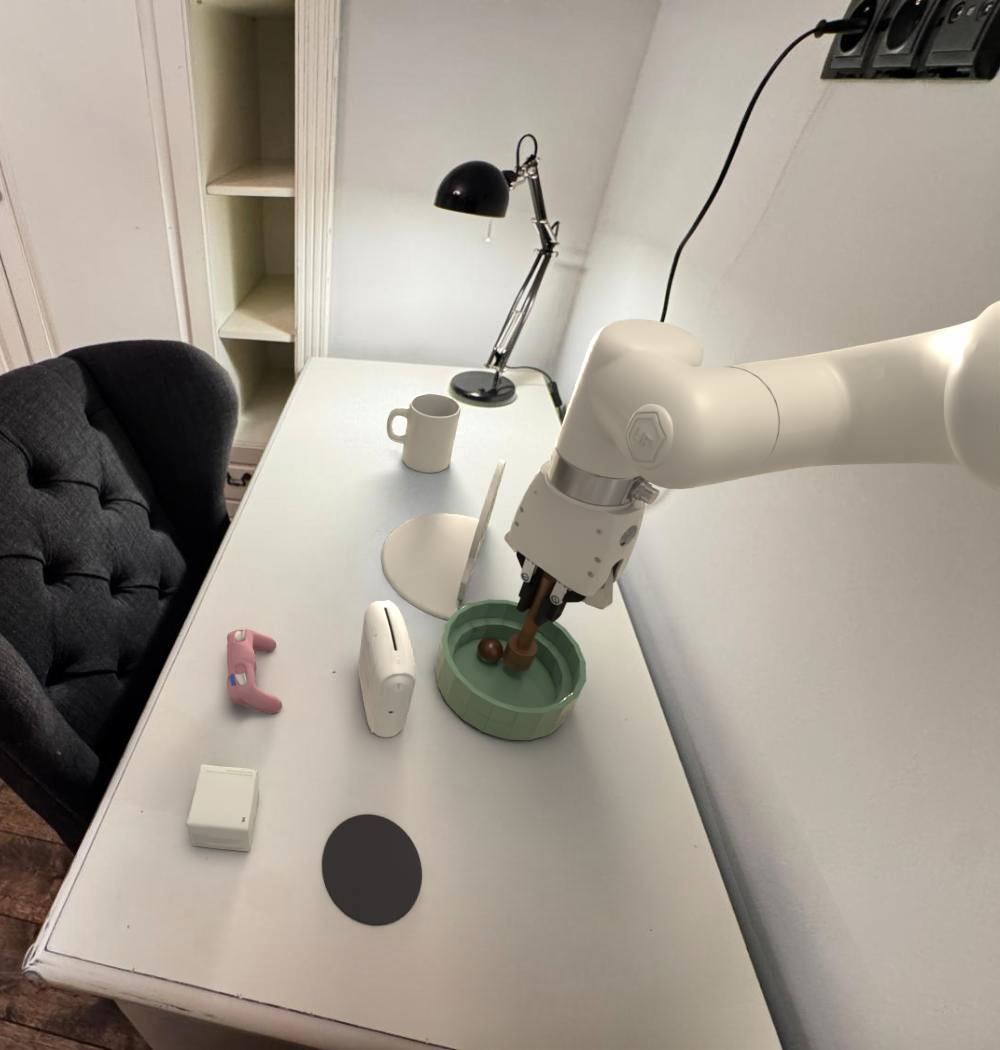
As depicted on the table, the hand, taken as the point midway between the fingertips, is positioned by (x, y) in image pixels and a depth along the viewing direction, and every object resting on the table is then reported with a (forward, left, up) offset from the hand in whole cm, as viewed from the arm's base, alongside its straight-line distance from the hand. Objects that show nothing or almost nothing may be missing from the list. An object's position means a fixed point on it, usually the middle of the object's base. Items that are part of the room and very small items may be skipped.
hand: (536, 611), depth 61 cm
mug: (+40, -22, -11) cm, 47 cm away
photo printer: (+6, +15, -11) cm, 20 cm away
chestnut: (+3, +1, -9) cm, 9 cm away
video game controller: (+16, +26, -11) cm, 33 cm away
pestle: (0, 0, -9) cm, 9 cm away
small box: (+4, +36, -11) cm, 38 cm away
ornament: (+20, -6, -11) cm, 24 cm away
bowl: (0, +2, -11) cm, 11 cm away
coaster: (-7, +27, -11) cm, 30 cm away
